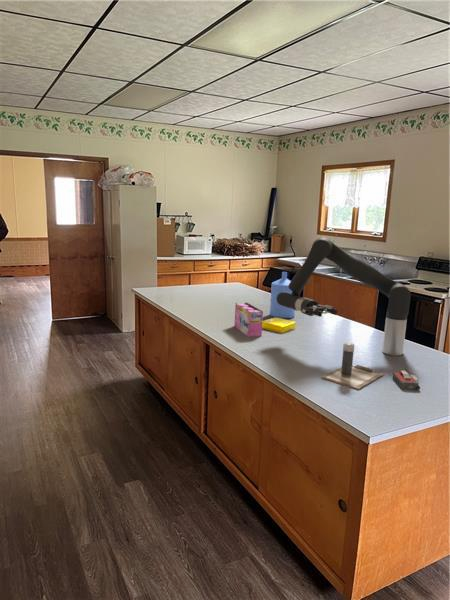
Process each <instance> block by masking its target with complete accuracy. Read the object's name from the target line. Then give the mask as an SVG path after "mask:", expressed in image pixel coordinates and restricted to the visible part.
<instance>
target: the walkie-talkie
mask: <svg viewBox="0 0 450 600" xmlns="http://www.w3.org/2000/svg"><path fill="white" fill-rule="evenodd" d="M392 380H393V381H394V382H395V383H396V385H397V386H398V387H399V388H400V389H402V390H409V391H417V390H420V389H421V386H420V385H419V383H418V381H419V379H418V378H417V376H416V375H415V374H411V373H410V372H409V370H407V369H406V368H405V369H404V370H399V371H398V372H397V371H396V372H393V373H392Z"/></svg>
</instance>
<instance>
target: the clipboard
mask: <svg viewBox="0 0 450 600" xmlns="http://www.w3.org/2000/svg"><path fill="white" fill-rule="evenodd" d="M341 369H342V366H341V367H339V368H337V369H335V370H333V371H330V372H329V373H327V374H324V375H323V376H321V377H320V379H323V380H326V381H329V382H332V383H336V384H339V385H342V386H345V387H347V388H351V389H354V390H357V391H360V390H362V389H364V388H365V387H367V386H369V385H370V384H371V383H373V382H375V381H377V380H378V379H380V378H382V377H383V376H385V374H384V373H381V372H377V371H374V368H370V367H367V366H363V365H360V364H356V365H353V364H352V373H351V377H350V378H344V377H342V376H341Z"/></svg>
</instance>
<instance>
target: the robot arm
mask: <svg viewBox="0 0 450 600" xmlns="http://www.w3.org/2000/svg"><path fill="white" fill-rule="evenodd" d="M325 259H327V260H329V261H330V262H333V263H334V264H336V265H337V266H338V267H339V268H340V269H341V270H342V271H344V273H345V274H346V275H348V276H349V277H351V278H353V279H355V280H356V281H358V282H359V283H362V284H364V285H366V286H369V287H372V288H373V289H376V290H378V291H379V292H381V293H382V294H383V295H385V296H386V297H387V298H388V305H387V311H386V313H385V314H386V315H385V324H384V331H383V332H384V336H383V342H382V352H383V354H386V355H390V356H396V357H397V356H402V355H404V354H403V353H404V347H405V346H404V345H405V339H406V330H407V322H408V315H409V313H410V312H409V311H410V304H411V296H412V295H411V291H410V289H409V288H408V287H407V286H406V285H405V284H402V283H400V282H397V281H395V280H393V279H391V278H390V277H387V276H386V275H385V274H383V273H382V272H381V271H379V270H378V269H376V268H375V267H374V266H372V265H371V264H369V263H367V262H366V261H364V260H363V259H361V258H360V257H357V256H355V255H354V254H352V253H349V252H347V251H345V250H343V249H342V248H341V247H339V246H338V245H336V244H335V243H334V242H332V241H331V240H330V239H328V238H327V237H322V236H321V237H318V238H316V239H315V240H314V241H313V243H312V245H311V248H310V251H309V253H308V255H307V257H306V259H305V261H304V262H303V264H302V265H301V266H300V268H299V269H298V270H297V271H296V273H295V275H294V276H293V277H292V279H291V280H290V281H291V282H290V283H289V286H288V287H289V289H290V290H291V291H292V293H291V294H289V293H286V292H280V293H279V294H278V295H277V298H276V300H277V303H278V304H279V305H281V306H284V307H287V308H291V309H293V310H294V311H296V312H299V313H301V314H303V315H306V316H310V317H313V316H317V317H320V318H321V317H323V314H324V315H327V314H332V315H335V316H336V315H338V310H337V309H336V308H335V306H332V305H327V304H325V305H322V304H319V302H318V301H316V300H314V299H312V298H307V297H303V296H301V292H302V291H303V289H304V288H305V286H306V284H307V283H308V282H309V280H310V279H311V277H312V275H313V273H314V272H315V270H316V269H317V267H318V266H319V265H320V264H321V263H322V262H323V261H324V260H325Z"/></svg>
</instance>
